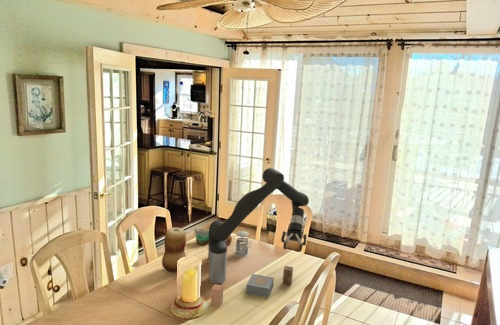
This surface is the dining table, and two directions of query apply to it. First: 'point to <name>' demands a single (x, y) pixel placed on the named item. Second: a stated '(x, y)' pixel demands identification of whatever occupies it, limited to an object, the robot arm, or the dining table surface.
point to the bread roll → (228, 240)
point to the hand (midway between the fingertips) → (292, 250)
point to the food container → (202, 236)
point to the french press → (243, 251)
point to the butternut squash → (173, 248)
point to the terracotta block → (217, 295)
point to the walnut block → (287, 275)
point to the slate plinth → (260, 285)
